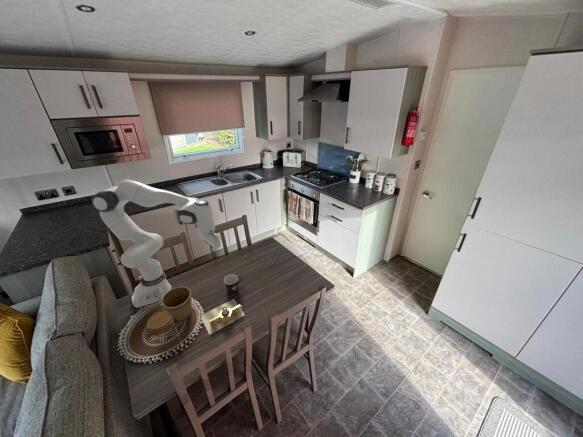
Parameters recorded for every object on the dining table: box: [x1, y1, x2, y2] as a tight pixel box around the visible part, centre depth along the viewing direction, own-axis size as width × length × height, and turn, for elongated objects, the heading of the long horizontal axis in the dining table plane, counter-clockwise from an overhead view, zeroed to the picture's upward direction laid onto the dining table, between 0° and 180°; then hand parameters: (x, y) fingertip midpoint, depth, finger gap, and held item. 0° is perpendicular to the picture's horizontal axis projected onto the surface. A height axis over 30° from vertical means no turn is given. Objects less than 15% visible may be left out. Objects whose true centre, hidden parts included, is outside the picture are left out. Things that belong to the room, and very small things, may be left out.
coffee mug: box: [223, 274, 243, 294], centre depth 153 cm, size 12×9×10 cm
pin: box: [222, 307, 229, 316], centre depth 134 cm, size 3×3×8 cm
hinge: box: [209, 304, 243, 328], centre depth 134 cm, size 18×6×5 cm, turn 127°
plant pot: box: [161, 286, 192, 322], centre depth 134 cm, size 15×15×16 cm
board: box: [200, 298, 245, 335], centre depth 138 cm, size 21×15×1 cm
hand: (210, 247), depth 139 cm, fingers open, 8 cm apart
